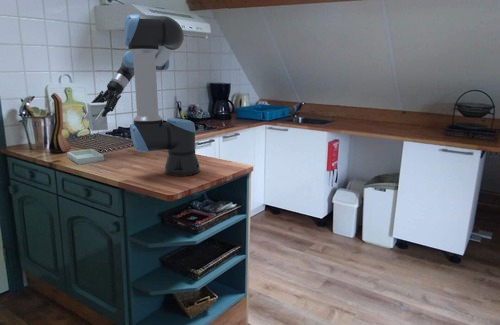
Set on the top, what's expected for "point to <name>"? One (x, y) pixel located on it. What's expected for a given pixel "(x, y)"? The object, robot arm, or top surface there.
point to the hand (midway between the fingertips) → (91, 120)
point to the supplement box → (93, 113)
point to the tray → (85, 156)
